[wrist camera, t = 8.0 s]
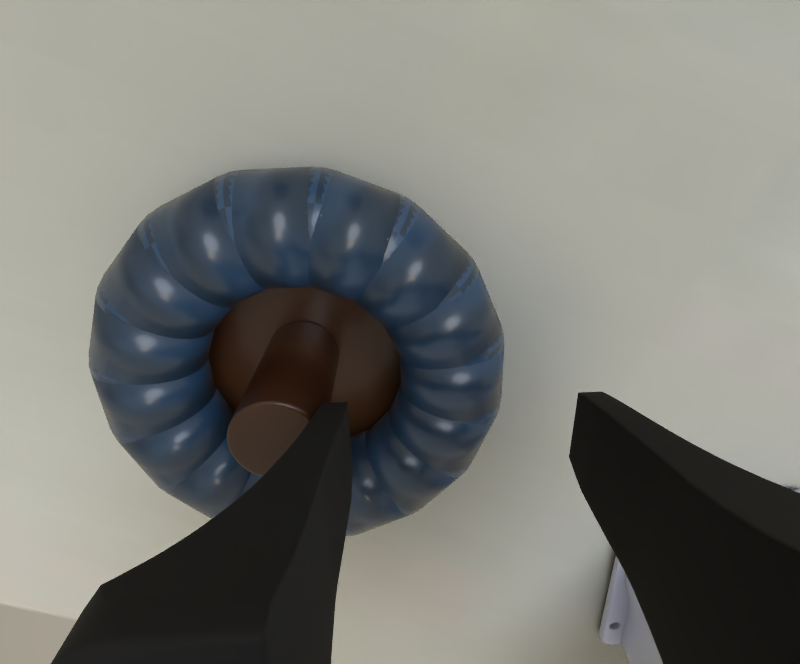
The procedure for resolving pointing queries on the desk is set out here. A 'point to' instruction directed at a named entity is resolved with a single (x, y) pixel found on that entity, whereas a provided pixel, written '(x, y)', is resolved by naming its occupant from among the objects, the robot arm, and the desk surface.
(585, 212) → the desk surface
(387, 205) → the ring
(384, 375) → the peg stand
